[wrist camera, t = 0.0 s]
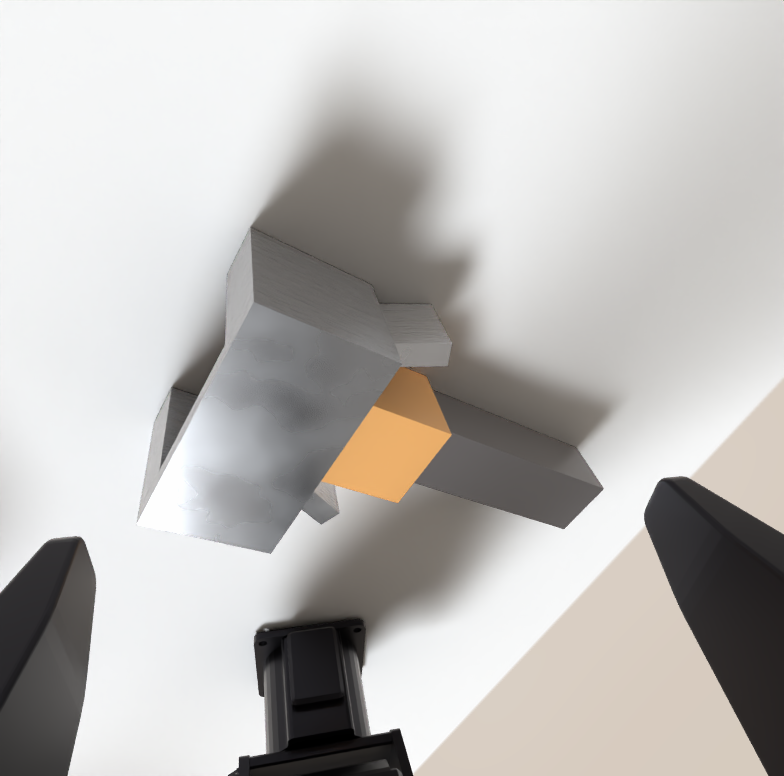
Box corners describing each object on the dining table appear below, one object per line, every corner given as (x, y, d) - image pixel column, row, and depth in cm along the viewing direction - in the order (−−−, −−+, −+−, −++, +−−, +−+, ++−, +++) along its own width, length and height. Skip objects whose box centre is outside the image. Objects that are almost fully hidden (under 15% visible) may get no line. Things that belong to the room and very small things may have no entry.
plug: (582, 440, 31) (621, 496, 28) (534, 492, 33) (566, 551, 30) (347, 343, 25) (364, 402, 22) (303, 414, 26) (312, 478, 23)
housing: (439, 308, 25) (483, 387, 20) (322, 478, 29) (336, 574, 24) (254, 218, 21) (259, 292, 17) (150, 429, 25) (132, 531, 21)
